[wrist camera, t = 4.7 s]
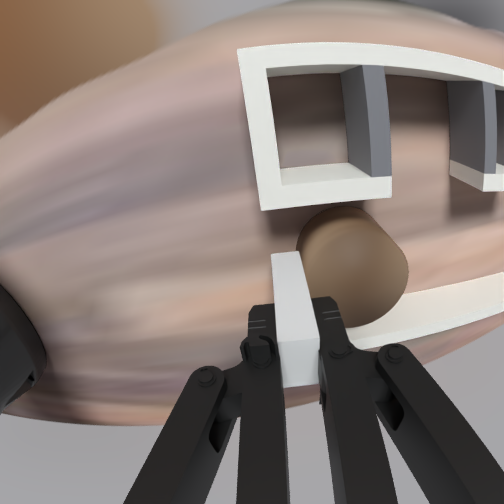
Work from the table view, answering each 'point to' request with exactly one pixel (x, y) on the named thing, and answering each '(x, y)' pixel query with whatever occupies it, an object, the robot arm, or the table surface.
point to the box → (383, 156)
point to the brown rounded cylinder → (352, 264)
